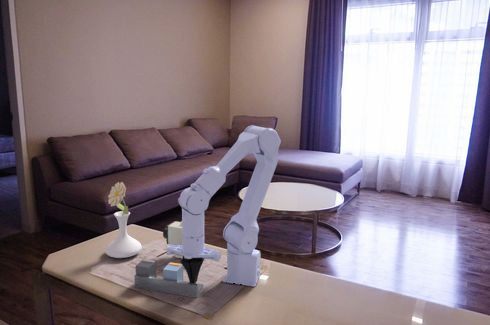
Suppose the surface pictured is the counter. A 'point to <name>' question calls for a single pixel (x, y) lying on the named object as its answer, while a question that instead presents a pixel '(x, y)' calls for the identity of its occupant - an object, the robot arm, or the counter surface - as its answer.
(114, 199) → the flower in vase
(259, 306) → the counter surface
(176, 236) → the pneumatic valve
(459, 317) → the counter surface
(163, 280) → the rail
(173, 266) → the block
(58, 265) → the counter surface
